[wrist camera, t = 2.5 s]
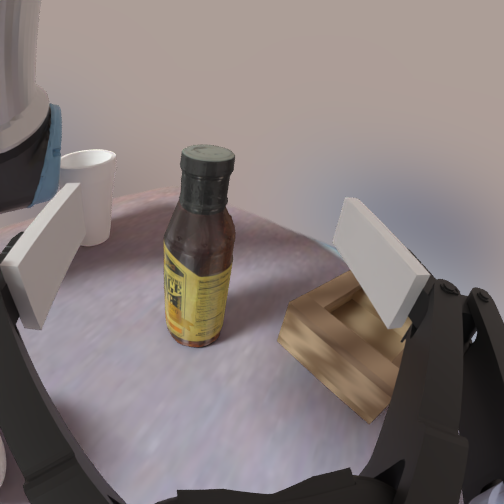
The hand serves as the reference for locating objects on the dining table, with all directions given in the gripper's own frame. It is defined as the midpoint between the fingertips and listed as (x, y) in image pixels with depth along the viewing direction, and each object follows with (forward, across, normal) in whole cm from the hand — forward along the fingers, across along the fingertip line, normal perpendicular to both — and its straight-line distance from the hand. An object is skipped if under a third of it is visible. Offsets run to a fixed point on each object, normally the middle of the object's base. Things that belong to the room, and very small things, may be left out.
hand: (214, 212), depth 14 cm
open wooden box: (+6, +18, -20) cm, 27 cm away
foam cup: (+29, -17, -19) cm, 39 cm away
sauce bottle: (+10, 0, -20) cm, 22 cm away
